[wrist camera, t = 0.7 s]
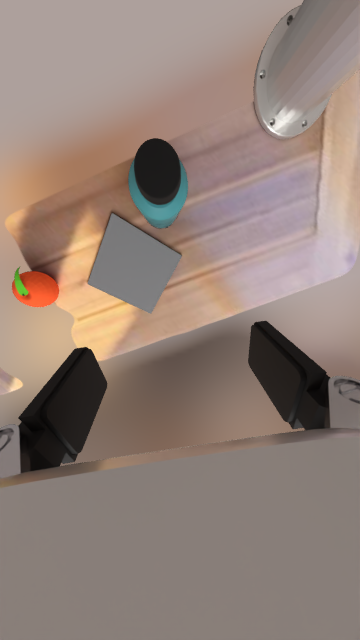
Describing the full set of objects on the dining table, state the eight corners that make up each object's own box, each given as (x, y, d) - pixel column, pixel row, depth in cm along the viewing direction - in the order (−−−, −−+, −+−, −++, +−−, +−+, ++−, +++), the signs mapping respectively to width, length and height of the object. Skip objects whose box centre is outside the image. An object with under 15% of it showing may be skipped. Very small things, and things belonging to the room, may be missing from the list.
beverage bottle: (137, 196, 30) (96, 130, 12) (171, 183, 29) (182, 92, 11) (151, 234, 33) (135, 228, 15) (182, 222, 32) (205, 201, 14)
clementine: (20, 266, 33) (-15, 272, 27) (54, 260, 33) (28, 265, 27) (40, 302, 37) (14, 315, 30) (71, 297, 37) (51, 309, 30)
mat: (112, 213, 31) (112, 212, 30) (181, 255, 35) (181, 255, 34) (88, 283, 36) (87, 283, 35) (151, 312, 40) (150, 313, 39)
